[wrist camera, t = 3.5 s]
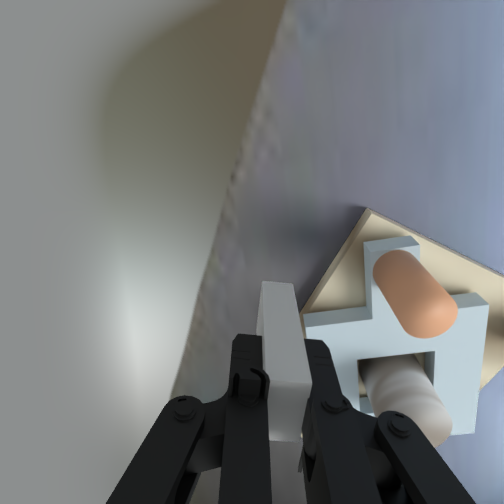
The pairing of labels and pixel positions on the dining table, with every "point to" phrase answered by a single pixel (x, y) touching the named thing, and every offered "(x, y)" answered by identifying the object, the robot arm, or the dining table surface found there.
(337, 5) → the dining table surface
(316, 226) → the dining table surface
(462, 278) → the post base
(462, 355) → the flange plate
